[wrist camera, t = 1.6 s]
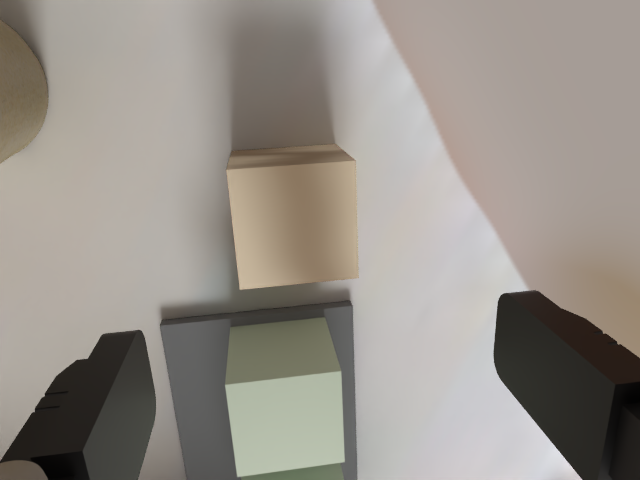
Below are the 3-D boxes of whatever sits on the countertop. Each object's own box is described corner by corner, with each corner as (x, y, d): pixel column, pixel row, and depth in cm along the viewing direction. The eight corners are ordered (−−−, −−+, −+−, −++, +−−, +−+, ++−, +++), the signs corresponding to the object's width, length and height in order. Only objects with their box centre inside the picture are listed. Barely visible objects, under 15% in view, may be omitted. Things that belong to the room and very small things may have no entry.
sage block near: (239, 406, 27) (237, 477, 22) (230, 327, 25) (224, 384, 20) (328, 395, 27) (344, 462, 22) (325, 317, 26) (341, 371, 21)
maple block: (242, 249, 24) (239, 289, 20) (231, 150, 23) (226, 170, 18) (338, 240, 25) (358, 277, 20) (335, 143, 23) (355, 160, 19)
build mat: (192, 496, 29) (191, 505, 28) (162, 320, 25) (159, 325, 24) (355, 473, 30) (357, 481, 29) (350, 300, 26) (352, 305, 26)
